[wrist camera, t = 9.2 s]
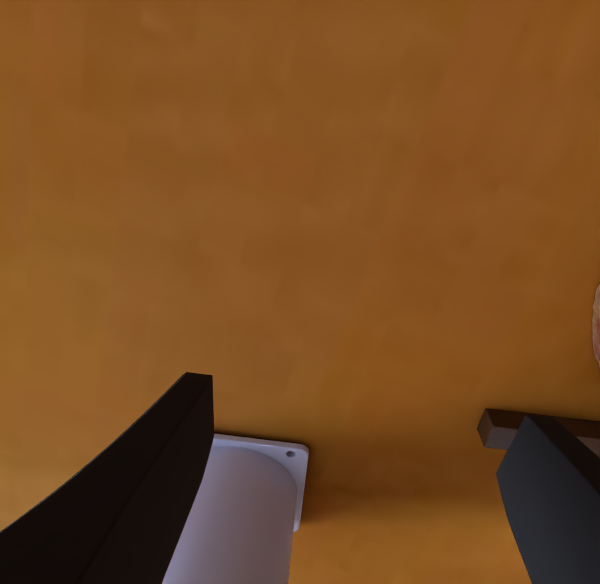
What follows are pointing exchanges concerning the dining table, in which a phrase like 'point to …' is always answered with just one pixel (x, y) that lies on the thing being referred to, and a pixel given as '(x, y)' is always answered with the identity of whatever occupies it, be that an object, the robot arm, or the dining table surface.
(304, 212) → the dining table surface
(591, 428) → the dark gray u-shaped frame
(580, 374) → the dining table surface
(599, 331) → the bread roll
